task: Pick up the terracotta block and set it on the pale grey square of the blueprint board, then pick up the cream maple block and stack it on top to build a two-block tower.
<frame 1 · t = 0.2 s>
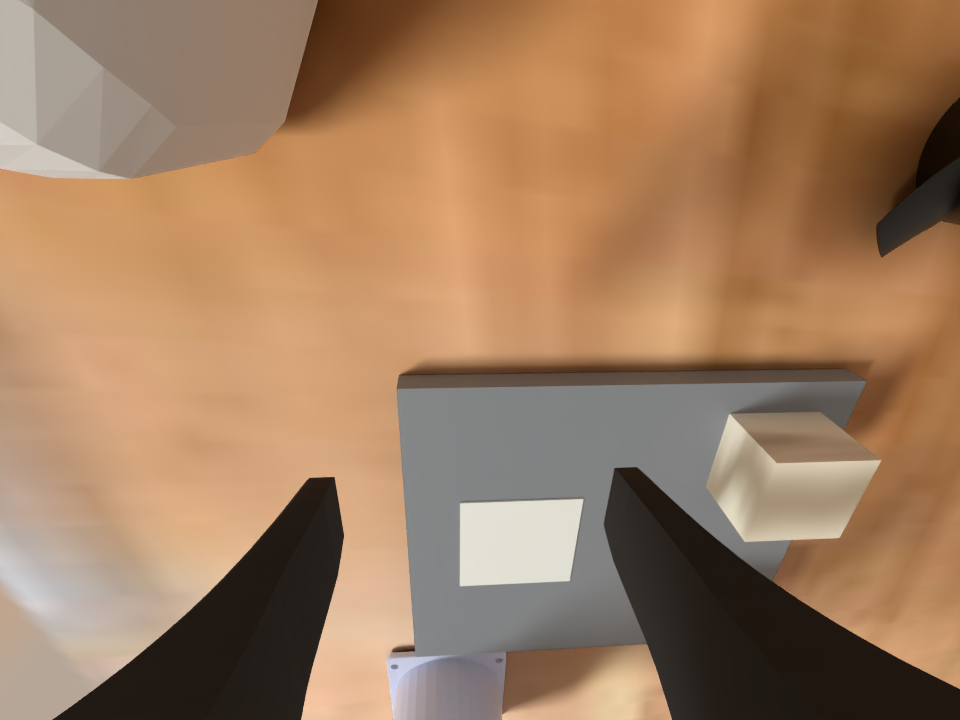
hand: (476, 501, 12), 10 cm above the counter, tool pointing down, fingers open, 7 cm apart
top block: (760, 450, 24), point 1 cm above the counter, touching board
board: (601, 522, 27), on the counter
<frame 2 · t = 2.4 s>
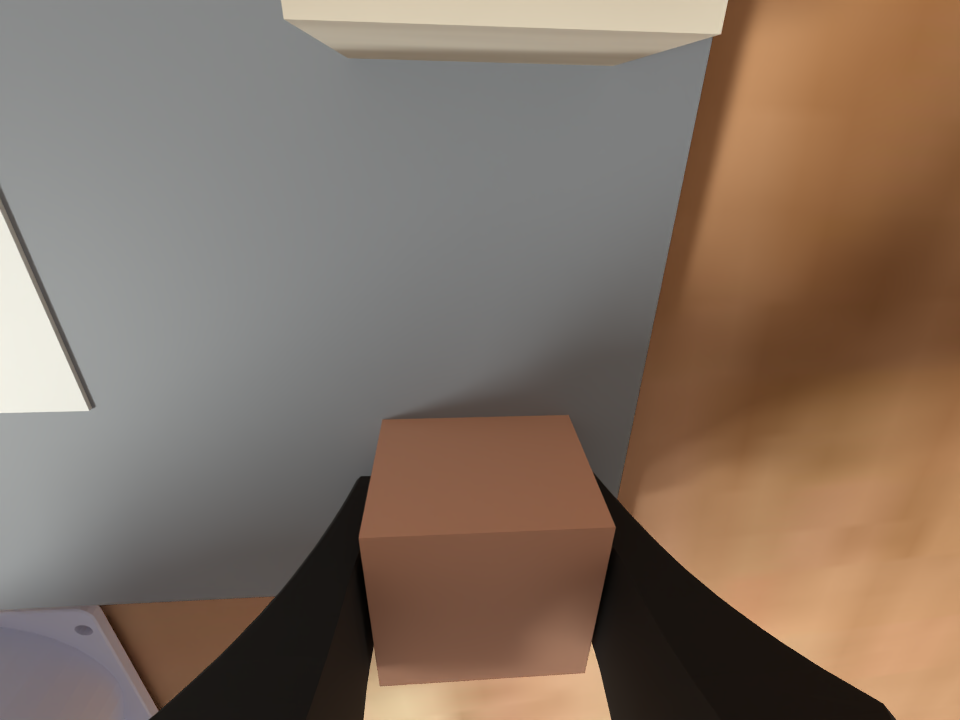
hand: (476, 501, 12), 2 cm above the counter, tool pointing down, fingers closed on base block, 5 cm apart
board: (161, 255, 10), on the counter
base block: (475, 488, 13), point 1 cm above the counter, touching board, gripper
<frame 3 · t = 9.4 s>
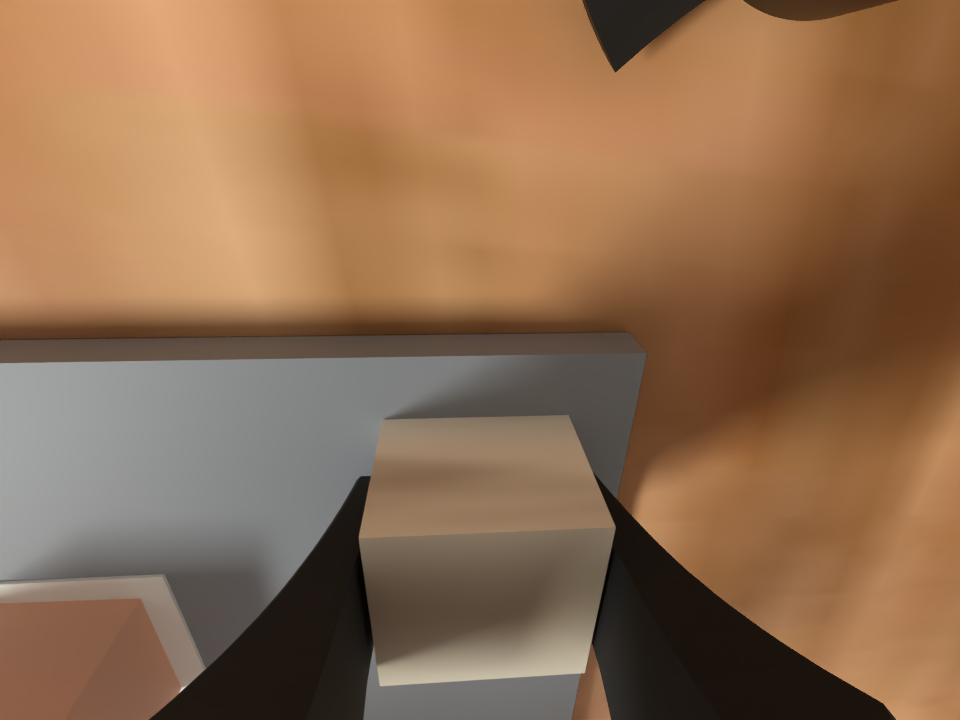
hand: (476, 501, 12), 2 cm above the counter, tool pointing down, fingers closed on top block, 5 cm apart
top block: (475, 488, 13), point 1 cm above the counter, touching board, gripper
board: (266, 604, 16), on the counter
base block: (83, 649, 14), point 1 cm above the counter, touching board
when the fingers open (6 cm above the counter, at t = 12.7 s): top block stays where it is, resting on base block.
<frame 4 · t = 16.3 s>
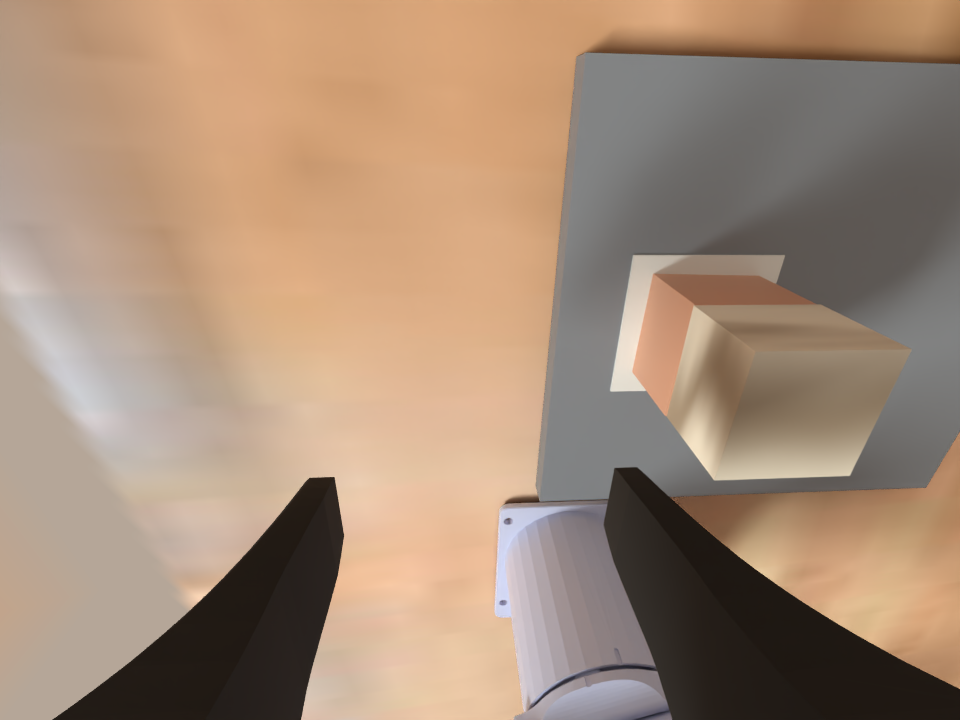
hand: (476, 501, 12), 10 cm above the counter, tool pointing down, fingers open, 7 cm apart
top block: (739, 363, 17), point 5 cm above the counter, touching base block
board: (782, 315, 22), on the counter
base block: (692, 325, 20), point 1 cm above the counter, touching board, top block
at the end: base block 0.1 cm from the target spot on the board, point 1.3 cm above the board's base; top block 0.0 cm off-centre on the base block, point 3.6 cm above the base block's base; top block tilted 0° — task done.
